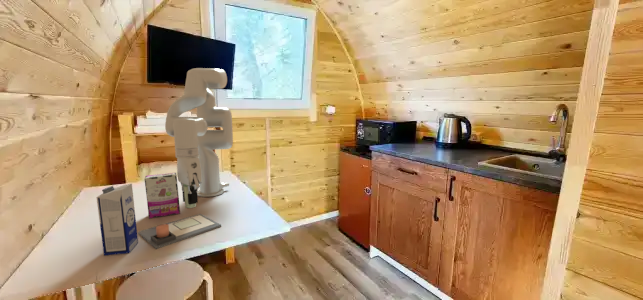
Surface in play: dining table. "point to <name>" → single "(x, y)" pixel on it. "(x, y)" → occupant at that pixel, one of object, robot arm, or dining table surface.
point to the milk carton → (117, 220)
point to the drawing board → (180, 230)
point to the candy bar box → (162, 195)
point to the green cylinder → (187, 197)
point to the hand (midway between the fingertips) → (190, 201)
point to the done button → (162, 230)
